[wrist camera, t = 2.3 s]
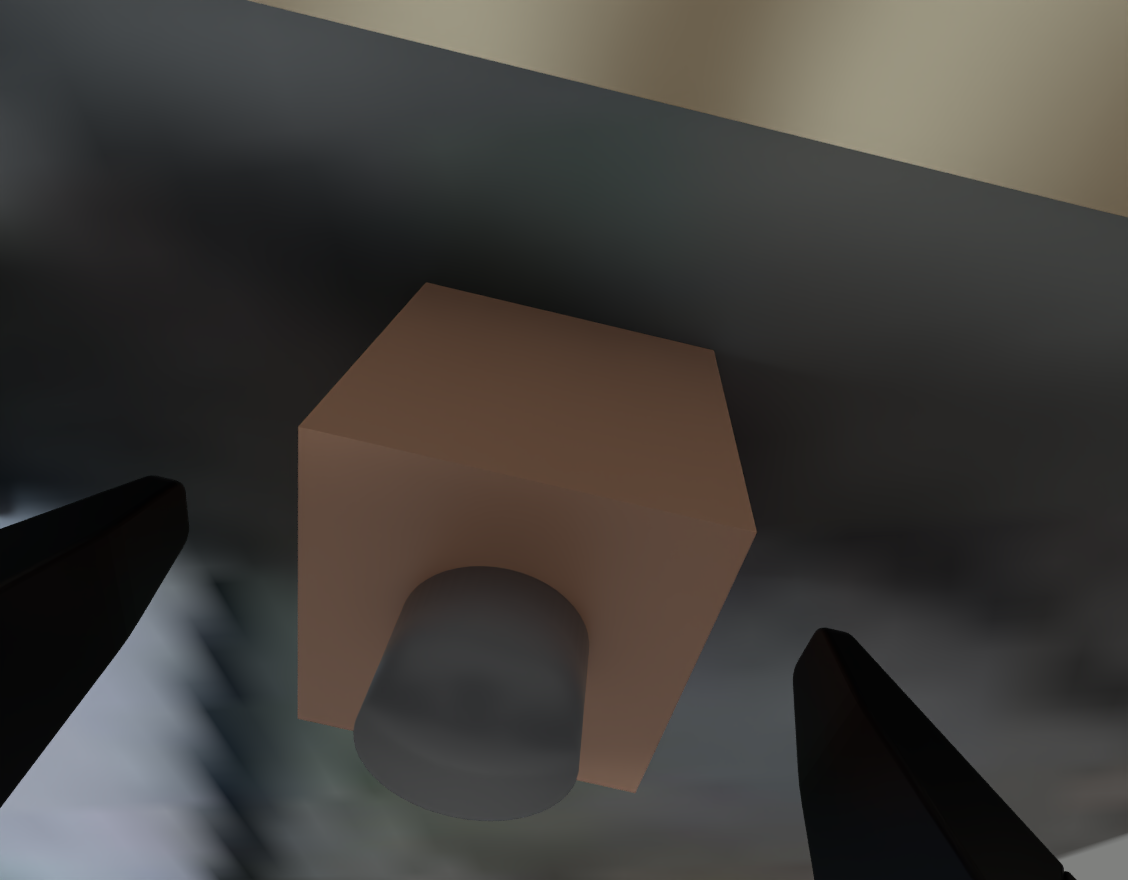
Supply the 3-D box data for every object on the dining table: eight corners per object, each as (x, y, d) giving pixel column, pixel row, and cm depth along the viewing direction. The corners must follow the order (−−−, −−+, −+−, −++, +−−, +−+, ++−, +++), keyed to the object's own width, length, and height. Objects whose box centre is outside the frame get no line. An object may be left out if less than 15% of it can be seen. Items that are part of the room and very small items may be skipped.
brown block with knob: (403, 510, 14) (241, 830, 8) (427, 280, 11) (215, 518, 6) (636, 564, 14) (635, 915, 8) (713, 348, 11) (785, 647, 6)
